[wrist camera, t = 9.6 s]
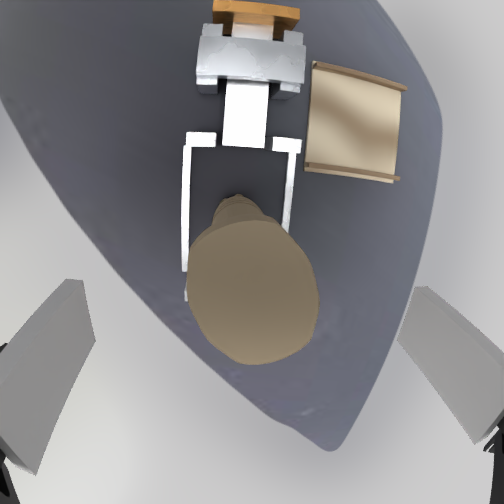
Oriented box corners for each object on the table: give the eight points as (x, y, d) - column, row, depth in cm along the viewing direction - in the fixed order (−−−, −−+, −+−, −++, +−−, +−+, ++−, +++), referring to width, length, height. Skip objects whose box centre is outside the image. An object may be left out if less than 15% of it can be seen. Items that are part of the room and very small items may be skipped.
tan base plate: (311, 61, 21) (317, 57, 19) (398, 84, 22) (407, 82, 20) (303, 170, 24) (308, 172, 23) (390, 182, 25) (398, 185, 24)
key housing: (205, 41, 19) (202, 18, 15) (291, 48, 20) (306, 28, 15) (200, 93, 21) (195, 81, 16) (287, 100, 22) (303, 90, 17)
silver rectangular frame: (185, 134, 22) (178, 132, 18) (295, 140, 23) (309, 140, 19) (182, 279, 27) (177, 300, 23) (280, 281, 28) (289, 303, 24)
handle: (251, 167, 24) (294, 202, 10) (273, 236, 26) (329, 342, 12) (196, 186, 24) (161, 248, 10) (222, 254, 26) (226, 375, 12)
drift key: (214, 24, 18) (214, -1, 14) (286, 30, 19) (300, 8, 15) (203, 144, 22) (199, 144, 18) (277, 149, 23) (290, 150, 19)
